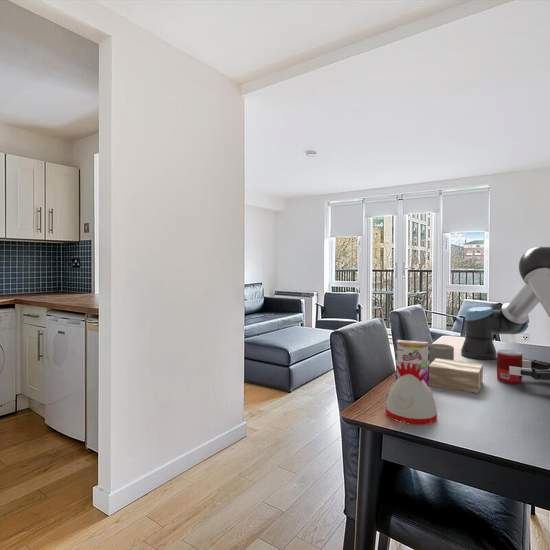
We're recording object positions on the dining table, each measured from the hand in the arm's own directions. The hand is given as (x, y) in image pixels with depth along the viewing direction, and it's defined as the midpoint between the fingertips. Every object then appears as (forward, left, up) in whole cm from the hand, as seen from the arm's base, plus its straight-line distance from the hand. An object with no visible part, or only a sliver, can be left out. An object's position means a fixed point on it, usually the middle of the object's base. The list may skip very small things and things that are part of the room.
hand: (509, 365), depth 139 cm
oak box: (+15, -16, -6) cm, 23 cm away
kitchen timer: (+53, -22, -6) cm, 58 cm away
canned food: (-1, 0, -6) cm, 6 cm away
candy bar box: (+28, -28, -6) cm, 40 cm away
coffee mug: (-2, -26, -6) cm, 27 cm away
